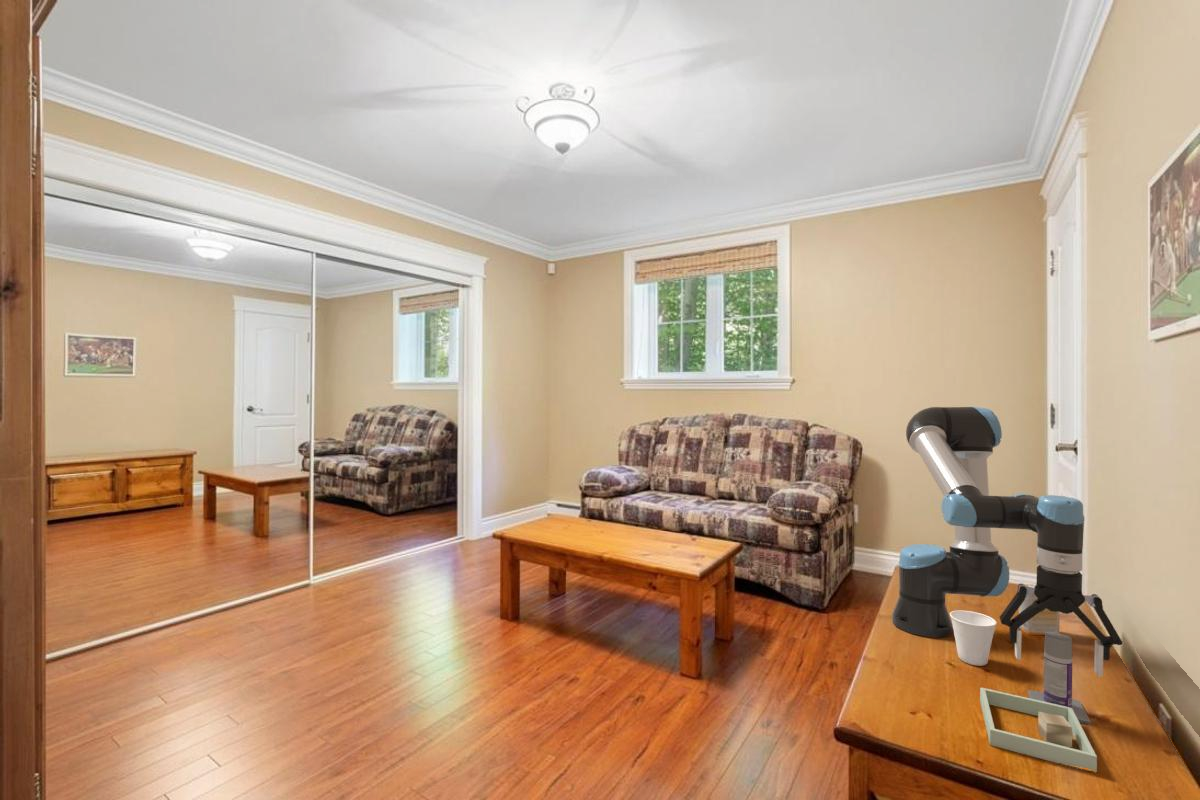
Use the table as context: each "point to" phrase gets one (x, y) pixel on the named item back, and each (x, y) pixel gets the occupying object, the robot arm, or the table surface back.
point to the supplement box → (1039, 618)
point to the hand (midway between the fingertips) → (1056, 665)
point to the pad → (1076, 706)
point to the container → (1058, 669)
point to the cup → (973, 636)
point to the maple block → (1055, 729)
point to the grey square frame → (1034, 746)
